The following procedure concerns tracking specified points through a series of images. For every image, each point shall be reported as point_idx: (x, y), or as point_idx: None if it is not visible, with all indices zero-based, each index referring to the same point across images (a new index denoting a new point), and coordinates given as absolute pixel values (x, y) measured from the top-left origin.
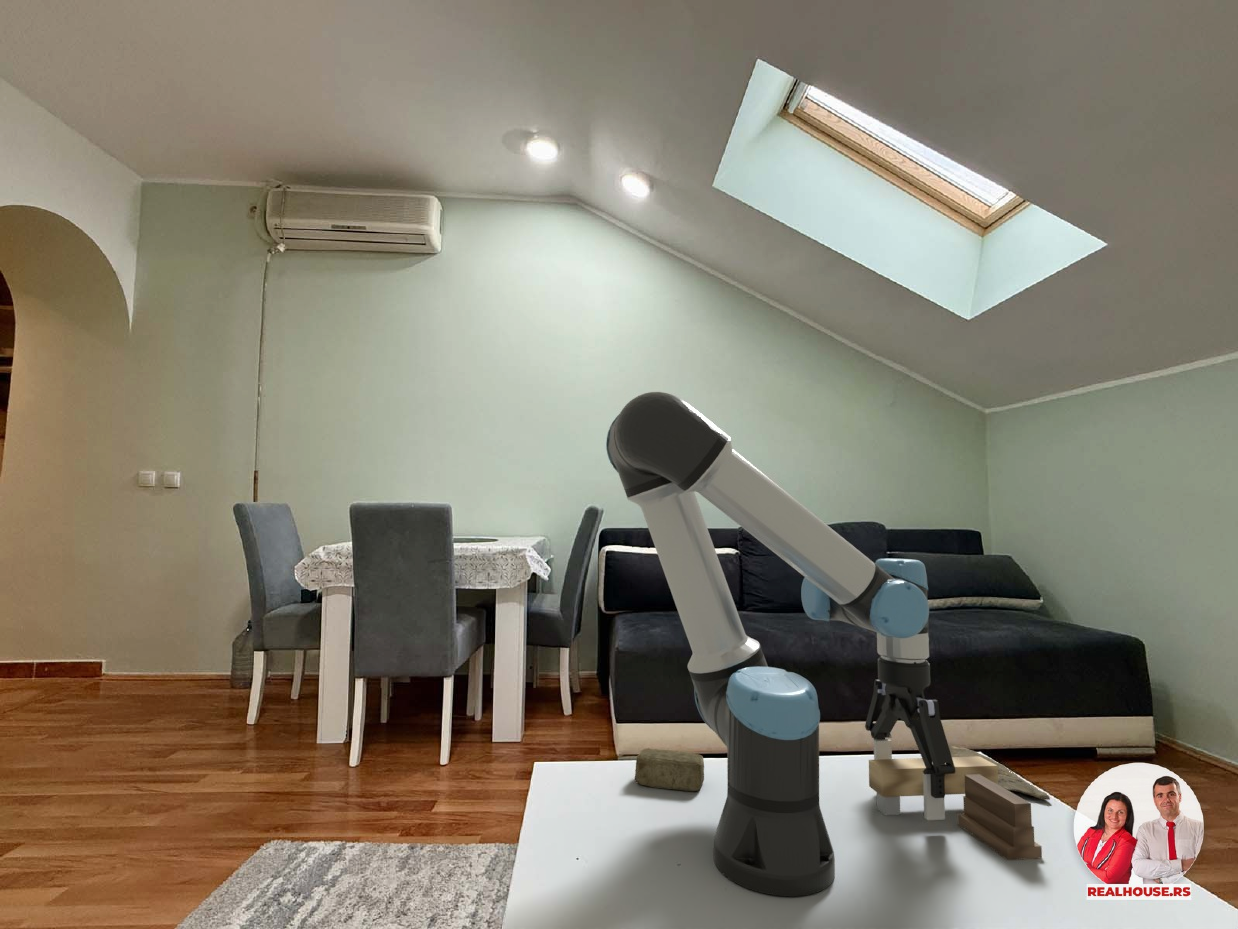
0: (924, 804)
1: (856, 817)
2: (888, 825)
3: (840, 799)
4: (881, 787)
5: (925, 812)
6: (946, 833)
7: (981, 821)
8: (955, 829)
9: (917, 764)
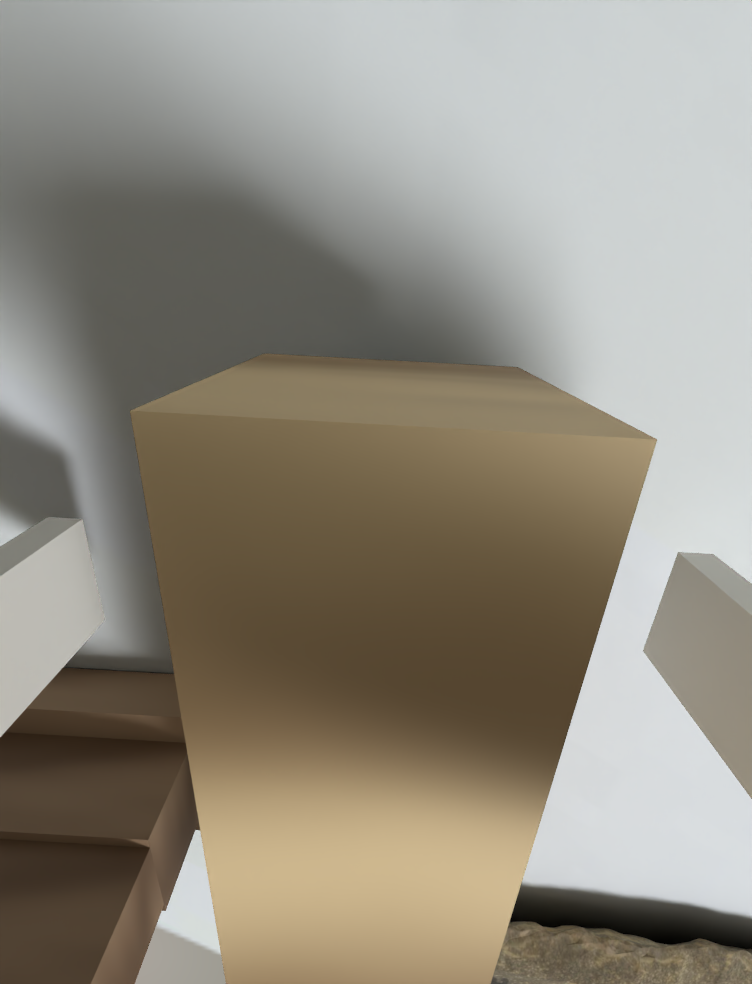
0: (7, 566)
1: (332, 118)
2: (197, 310)
3: (660, 174)
4: (265, 364)
5: (37, 537)
6: (114, 577)
7: (46, 754)
8: (161, 639)
9: (319, 909)
